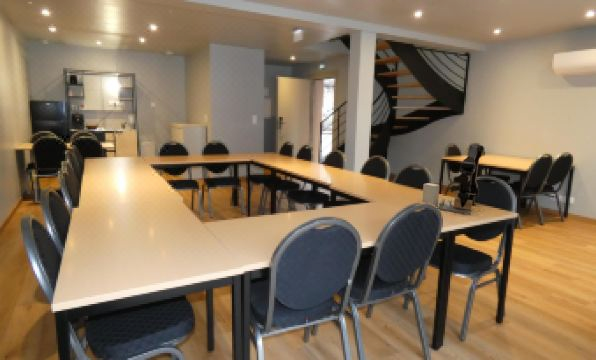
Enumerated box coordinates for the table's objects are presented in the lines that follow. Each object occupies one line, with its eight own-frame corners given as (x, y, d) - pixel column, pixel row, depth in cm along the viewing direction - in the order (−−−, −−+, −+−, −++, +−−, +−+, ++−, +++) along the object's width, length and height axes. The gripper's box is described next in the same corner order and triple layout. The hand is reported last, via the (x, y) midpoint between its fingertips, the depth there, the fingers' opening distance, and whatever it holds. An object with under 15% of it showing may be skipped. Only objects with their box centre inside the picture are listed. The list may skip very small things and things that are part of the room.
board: (441, 204, 242) (442, 197, 241) (471, 209, 234) (472, 202, 233) (438, 209, 229) (439, 202, 228) (470, 214, 221) (471, 207, 220)
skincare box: (437, 208, 233) (440, 185, 231) (431, 209, 230) (434, 185, 227) (426, 204, 240) (429, 182, 238) (420, 205, 237) (423, 183, 234)
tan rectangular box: (454, 205, 234) (455, 198, 233) (471, 208, 229) (472, 200, 228) (453, 207, 229) (454, 199, 229) (471, 210, 225) (472, 202, 224)
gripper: (453, 177, 238) (450, 201, 241) (450, 182, 222) (447, 207, 225) (472, 179, 233) (468, 203, 236) (470, 184, 217) (467, 210, 220)
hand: (462, 206), depth 229 cm, fingers closed on tan rectangular box, 5 cm apart
